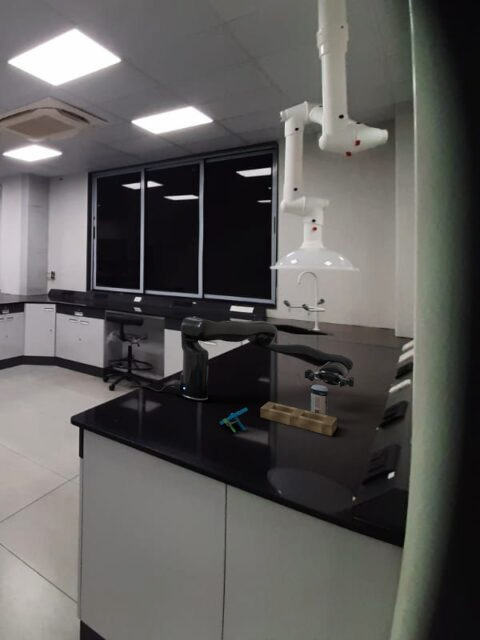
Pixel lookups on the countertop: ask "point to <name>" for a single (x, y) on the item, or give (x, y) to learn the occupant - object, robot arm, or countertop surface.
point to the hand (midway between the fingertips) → (325, 381)
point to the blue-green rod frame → (235, 418)
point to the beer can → (319, 399)
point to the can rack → (299, 418)
